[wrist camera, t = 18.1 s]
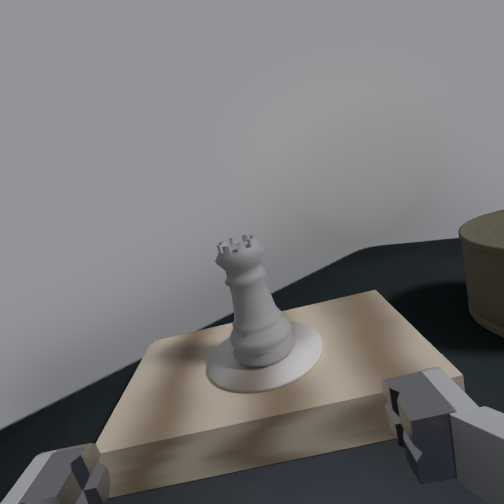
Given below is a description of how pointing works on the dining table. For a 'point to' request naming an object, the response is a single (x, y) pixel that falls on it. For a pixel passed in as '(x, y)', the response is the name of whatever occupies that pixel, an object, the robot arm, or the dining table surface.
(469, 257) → the can
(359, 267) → the dining table surface
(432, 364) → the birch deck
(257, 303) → the rook chess piece
